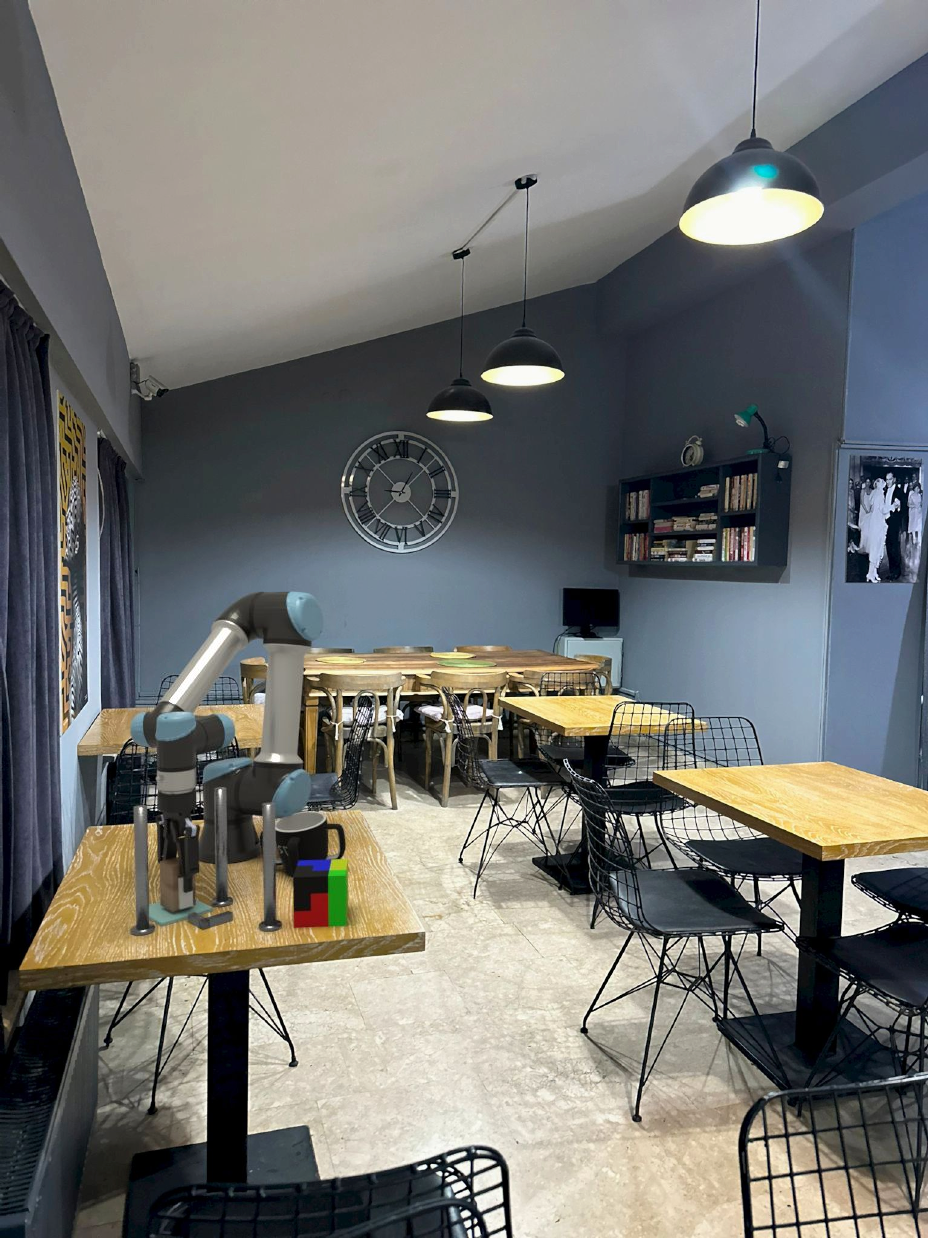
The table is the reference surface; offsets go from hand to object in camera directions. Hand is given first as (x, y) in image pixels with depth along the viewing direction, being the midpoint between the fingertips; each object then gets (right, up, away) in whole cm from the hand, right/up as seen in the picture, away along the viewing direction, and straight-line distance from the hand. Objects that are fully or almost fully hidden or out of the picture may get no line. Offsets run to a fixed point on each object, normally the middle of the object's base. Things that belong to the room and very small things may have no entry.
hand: (178, 903), depth 176 cm
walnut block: (0, 0, 0) cm, 0 cm away
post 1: (-4, -2, -10) cm, 11 cm away
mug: (+21, -1, +24) cm, 33 cm away
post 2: (+8, -1, +4) cm, 9 cm away
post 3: (+20, -2, -8) cm, 22 cm away
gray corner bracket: (+8, -2, -5) cm, 10 cm away
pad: (-1, -2, 0) cm, 2 cm away
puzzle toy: (+30, -2, -3) cm, 30 cm away
